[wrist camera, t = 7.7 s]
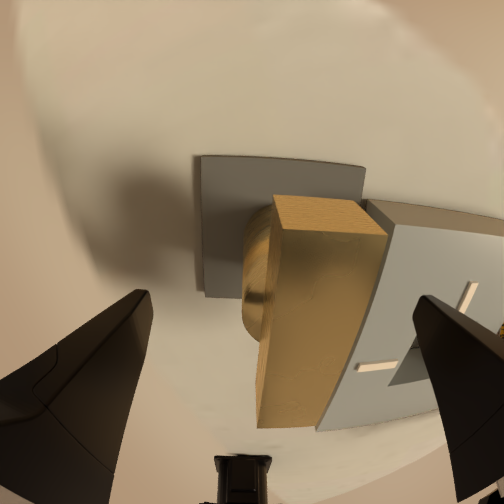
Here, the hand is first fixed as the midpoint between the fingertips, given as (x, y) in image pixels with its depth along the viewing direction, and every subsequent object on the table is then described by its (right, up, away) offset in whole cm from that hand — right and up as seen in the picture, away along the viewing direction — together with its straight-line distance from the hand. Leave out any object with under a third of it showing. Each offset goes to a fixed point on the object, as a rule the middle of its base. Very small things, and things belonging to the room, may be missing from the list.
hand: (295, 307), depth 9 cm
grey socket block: (+10, -3, +8) cm, 13 cm away
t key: (0, +2, +4) cm, 5 cm away
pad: (0, +3, +5) cm, 5 cm away
